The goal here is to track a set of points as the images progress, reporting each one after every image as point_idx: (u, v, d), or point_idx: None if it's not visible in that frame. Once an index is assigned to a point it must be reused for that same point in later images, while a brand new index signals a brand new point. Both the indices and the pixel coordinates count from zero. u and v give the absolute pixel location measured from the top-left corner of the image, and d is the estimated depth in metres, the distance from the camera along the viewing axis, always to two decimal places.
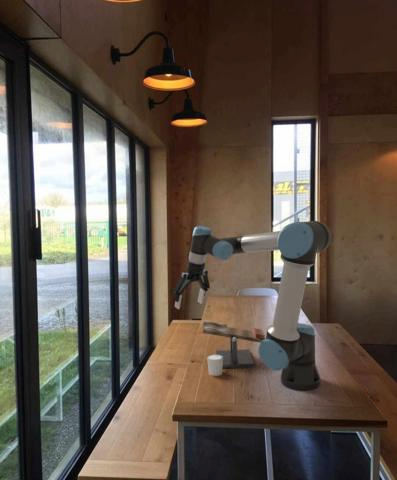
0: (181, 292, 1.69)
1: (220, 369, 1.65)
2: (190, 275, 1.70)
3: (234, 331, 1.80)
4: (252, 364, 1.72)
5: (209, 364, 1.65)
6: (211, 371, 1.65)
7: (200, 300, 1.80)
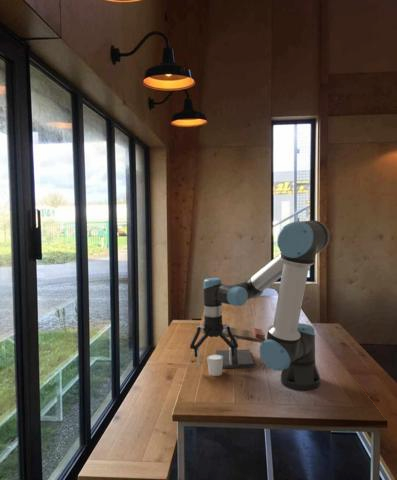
0: (197, 346, 1.65)
1: (220, 369, 1.65)
2: (205, 329, 1.65)
3: (234, 331, 1.80)
4: (252, 364, 1.72)
5: (209, 364, 1.65)
6: (211, 371, 1.65)
7: (229, 360, 1.66)
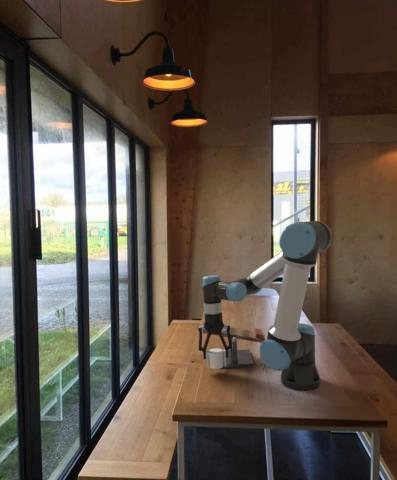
0: (205, 348, 1.65)
1: (221, 363, 1.64)
2: (206, 327, 1.64)
3: (234, 331, 1.80)
4: (252, 364, 1.72)
5: (210, 357, 1.64)
6: (212, 364, 1.64)
7: (224, 362, 1.65)
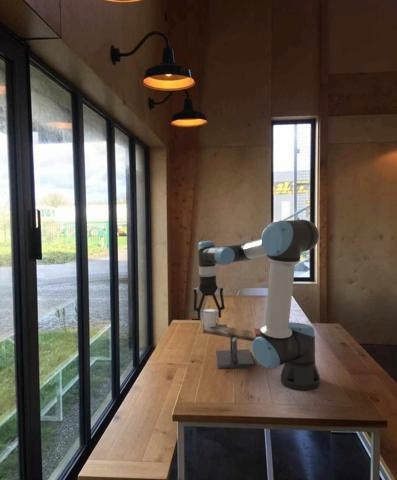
0: (200, 308, 1.78)
1: (214, 321, 1.78)
2: (201, 288, 1.78)
3: (234, 331, 1.80)
4: (252, 364, 1.72)
5: (204, 316, 1.78)
6: (205, 323, 1.77)
7: (217, 321, 1.79)
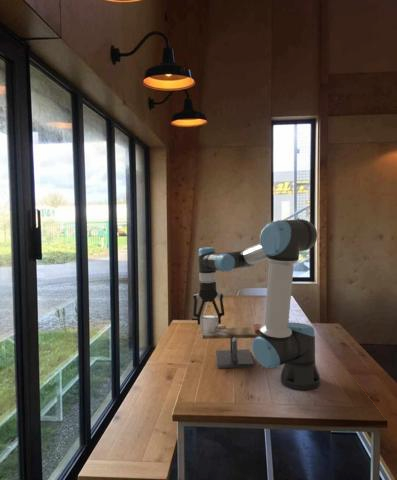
0: (199, 314, 1.78)
1: (214, 328, 1.78)
2: (201, 294, 1.78)
3: (233, 330, 1.80)
4: (252, 364, 1.72)
5: (203, 322, 1.78)
6: (205, 329, 1.78)
7: None
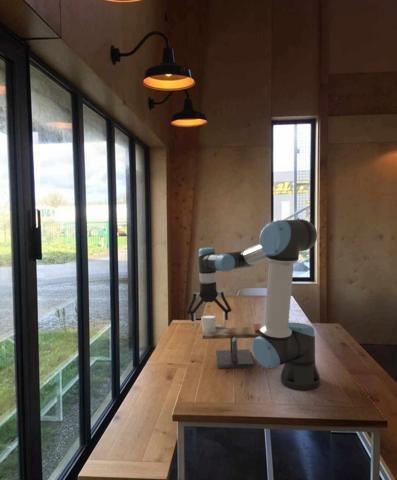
0: (194, 311, 1.78)
1: (214, 328, 1.78)
2: (201, 295, 1.78)
3: (233, 330, 1.80)
4: (252, 364, 1.72)
5: (203, 323, 1.78)
6: (205, 329, 1.78)
7: None
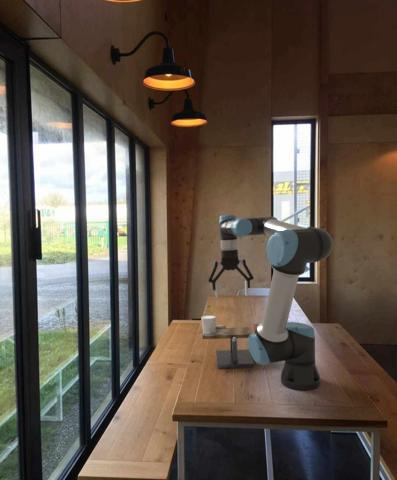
0: (215, 280, 1.75)
1: (214, 328, 1.78)
2: (222, 263, 1.75)
3: (233, 330, 1.80)
4: (252, 364, 1.72)
5: (203, 323, 1.78)
6: (205, 329, 1.78)
7: (246, 292, 1.76)
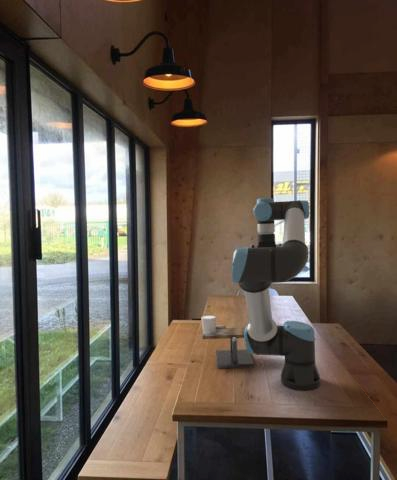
0: None
1: (214, 328, 1.78)
2: (259, 247, 1.72)
3: (233, 330, 1.80)
4: (252, 364, 1.72)
5: (203, 323, 1.78)
6: (205, 329, 1.78)
7: None
